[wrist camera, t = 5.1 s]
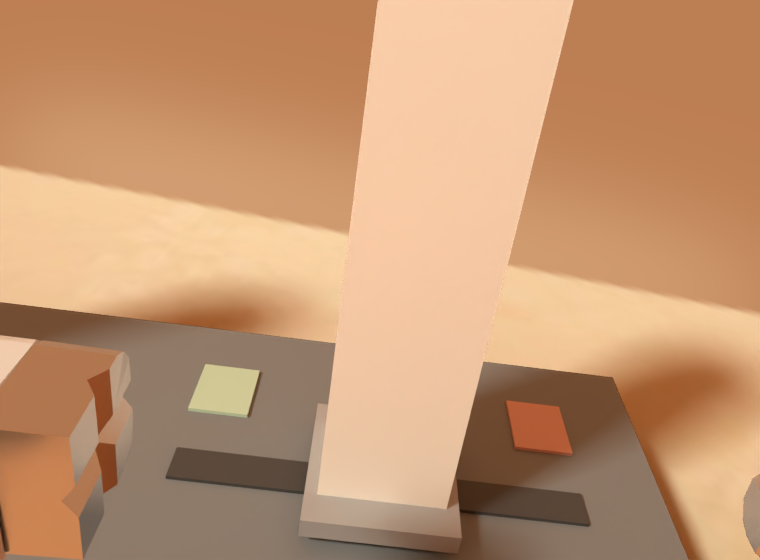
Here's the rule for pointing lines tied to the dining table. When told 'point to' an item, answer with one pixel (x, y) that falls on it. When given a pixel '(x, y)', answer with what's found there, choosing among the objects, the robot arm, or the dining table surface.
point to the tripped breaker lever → (427, 260)
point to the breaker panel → (293, 446)
